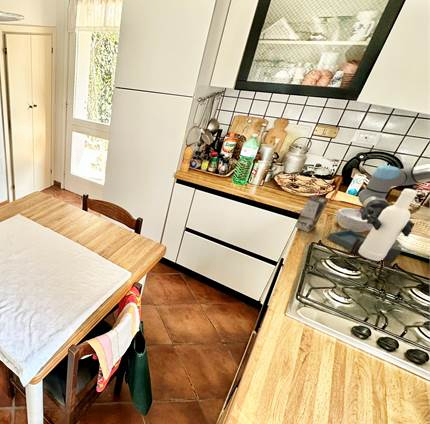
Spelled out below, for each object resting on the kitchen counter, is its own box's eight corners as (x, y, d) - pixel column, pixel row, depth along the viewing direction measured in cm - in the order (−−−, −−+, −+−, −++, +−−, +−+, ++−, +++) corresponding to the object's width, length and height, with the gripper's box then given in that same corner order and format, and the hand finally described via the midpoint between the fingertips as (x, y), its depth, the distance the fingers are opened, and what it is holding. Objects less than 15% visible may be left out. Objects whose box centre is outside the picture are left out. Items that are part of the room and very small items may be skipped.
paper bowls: (325, 223, 161) (332, 210, 158) (341, 218, 167) (348, 205, 163) (360, 238, 149) (369, 224, 146) (376, 231, 155) (384, 218, 151)
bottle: (381, 263, 123) (425, 196, 108) (355, 254, 128) (394, 189, 114) (384, 256, 127) (427, 191, 113) (359, 247, 133) (397, 184, 118)
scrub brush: (388, 264, 132) (400, 247, 127) (391, 268, 129) (403, 251, 125) (347, 253, 138) (357, 236, 134) (348, 257, 136) (358, 240, 131)
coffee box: (308, 232, 153) (323, 204, 146) (294, 227, 158) (307, 199, 150) (315, 227, 158) (329, 199, 150) (301, 221, 163) (314, 194, 155)
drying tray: (379, 249, 141) (382, 244, 140) (358, 254, 138) (361, 249, 136) (346, 234, 153) (349, 229, 151) (327, 238, 149) (330, 233, 148)
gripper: (404, 221, 131) (424, 246, 114) (343, 208, 141) (353, 230, 123) (414, 205, 128) (437, 229, 110) (351, 194, 137) (362, 214, 120)
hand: (393, 230), depth 117 cm, fingers closed on bottle, 8 cm apart
